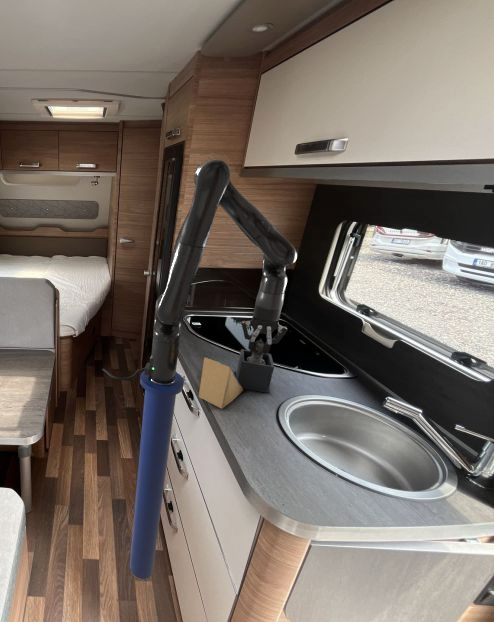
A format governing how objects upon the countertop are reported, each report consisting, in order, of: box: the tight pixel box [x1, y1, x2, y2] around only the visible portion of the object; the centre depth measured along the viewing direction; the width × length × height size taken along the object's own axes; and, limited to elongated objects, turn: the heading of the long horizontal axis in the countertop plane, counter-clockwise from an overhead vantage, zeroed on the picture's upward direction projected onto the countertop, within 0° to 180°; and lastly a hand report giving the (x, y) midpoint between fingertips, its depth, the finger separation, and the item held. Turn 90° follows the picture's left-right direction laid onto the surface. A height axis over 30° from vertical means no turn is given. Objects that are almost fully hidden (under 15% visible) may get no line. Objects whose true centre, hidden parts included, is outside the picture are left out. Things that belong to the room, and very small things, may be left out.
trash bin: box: [235, 348, 275, 394], centre depth 117 cm, size 10×10×10 cm
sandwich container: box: [198, 357, 244, 410], centre depth 110 cm, size 9×15×15 cm, turn 131°
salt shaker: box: [247, 338, 265, 365], centre depth 114 cm, size 6×6×12 cm
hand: (257, 351), depth 114 cm, fingers closed on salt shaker, 3 cm apart
